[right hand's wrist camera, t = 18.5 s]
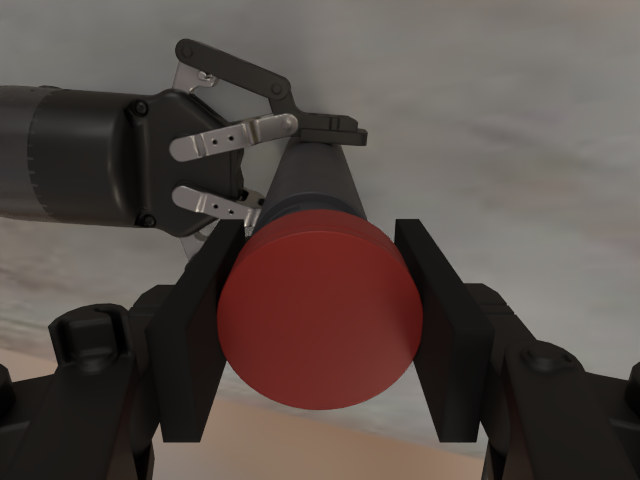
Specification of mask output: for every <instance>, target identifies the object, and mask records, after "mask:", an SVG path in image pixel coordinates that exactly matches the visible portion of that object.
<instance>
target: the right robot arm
mask: <svg viewBox="0 0 640 480" xmlns="http://www.w3.org/2000/svg"><path fill="white" fill-rule="evenodd" d="M245 244H246V243H245V228H244V219H221V220H220V221H219V223H218V224H217V225H216V227H215V228H214V230H213V231H212V233H211V234H210V235H209V237H208V238H207V240H206V241H205V243H204V244H203V246H202V247H201V248H200V250H199V251H198V253H197V254H196V256H195V257H194V259H193V260H192V261H191V263H190V264H189V266H188V267H187V269H186V270H185V272H184V273H183V274H182V276H181V277H180V279H179V280H178V282H177V283H176V284H175V285H156V286H155V287H153V288H151V289H150V290H148V291H146V292H145V293H143V294H142V295H141V296H140V297H139V298H138V300H137V301H136V302H135V303H134V305H133V307H131V308H130V310H129V311H128V310H127V309H125V308H124V307H123V306H121V305H116V304H111V303H109V304H94V305H89V306H83V307H80V308H77V309H74V310H72V311H69V312H67V313H65V314H63V315H61V316H60V317H58V318H56V319H55V320H54V321H53V322H52V323H51V324H50V325H49V326H48V329H49V332H50V336H51V340H52V344H53V348H54V351H55V355H56V359H57V363H58V367H57V369H56V371H55V373H54V374H51V375H47V376H43V377H37V378H32V379H27V380H23V381H17V382H12V381H11V378H10V375H9V372H8V369H7V368H6V367H4V366H3V365H2V364H0V480H152V476H153V468H154V460H155V458H154V451H153V445H152V438H153V435H154V433H155V431H156V429H157V427H158V425H159V423H160V426H161V431H162V437H163V442H200V440H201V437H202V434H203V431H204V428H205V425H206V422H207V419H208V416H209V413H210V410H211V407H212V404H213V401H214V398H215V395H216V392H217V389H218V385H219V382H220V379H221V376H222V373H223V370H224V367H225V364H226V361H227V359H226V357H225V355H224V353H223V351H222V348H221V345H220V342H219V336H218V327H217V316H216V314H217V306H218V301H219V298H220V295H221V291H222V289H223V287H224V285H225V282H226V280H227V278H228V276H229V274H230V272H231V269H232V267H233V265H234V263H235V261H236V259H237V257H238V255H239V253H240V251H241V250H242V248H243V247H244V245H245ZM394 244H395V245H396V247H397V248H398V250H399V252H400V253H401V255H402V257H403V259H404V261H405V263H406V265H407V268H408V270H409V272H410V274H411V276H412V278H413V281H414V283H415V285H416V287H417V290H418V292H419V294H420V298H421V302H422V306H423V324H422V334H421V342H420V345H419V348H418V350H417V353H416V355H415V357H414V359H413V362H414V365H415V368H416V371H417V374H418V377H419V380H420V383H421V386H422V389H423V392H424V395H425V399H426V402H427V405H428V408H429V411H430V414H431V417H432V420H433V423H434V426H435V429H436V432H437V435H438V438H439V441H440V442H476V441H477V436H478V430H479V424H480V421H481V423H482V425H483V427H484V430H485V432H486V434H487V436H488V438H489V439H488V445H487V450H486V456H485V461H484V467H483V472H482V477H481V480H640V362H638V363H637V364H636V365H634V366H633V367H632V370H631V374H630V377H629V380H623V379H618V378H612V377H607V376H602V375H597V374H592V373H588V372H585V370H584V368H583V366H582V364H581V363H580V362H579V361H578V360H577V358H576V357H575V356H574V355H572V354H571V353H569V352H568V351H566V350H565V349H563V348H561V347H558V346H556V345H554V344H551V343H548V342H544V341H539V340H536V338H535V337H534V336H533V335H532V333H531V332H530V331H529V330H528V329H527V327H526V326H525V325H524V324H523V323H522V321H521V320H520V319H519V318H518V316H517V315H514V312H513V310H512V309H511V308H510V307H509V306H507V303H506V302H505V301H504V299H503V298H502V297H501V296H500V295H499V293H498V292H496V291H494V290H493V289H491V288H489V287H488V286H486V285H484V284H483V283H463V282H462V281H461V279H460V278H459V276H458V275H457V273H456V272H455V270H454V269H453V268H452V266H451V265H450V263H449V262H448V260H447V259H446V258H445V256H444V255H443V253H442V252H441V250H440V249H439V247H438V246H437V245H436V243H435V242H434V240H433V239H432V237H431V236H430V234H429V233H428V232H427V230H426V229H425V227H424V226H423V224H422V223H421V221H420V220H419V219H396V224H395V239H394Z"/></svg>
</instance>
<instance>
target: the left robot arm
mask: <svg viewBox="0 0 640 480" xmlns="http://www.w3.org/2000/svg"><path fill="white" fill-rule="evenodd" d="M175 53H176V56H177V58H178V59H179V64H178V68H177V72H176V75H175V79H174V83H173V87H172V89H166V90H164V91H162V92H160V93H158V94H156V95H135V94H122V93H109V92H95V91H83V90H69V89H61V88H58V87H53V86H39V87H30V86H0V217H4V218H10V219H17V220H26V221H39V222H55V223H70V224H85V225H100V226H116V227H131V228H157V229H160V230H163V231H165V232H167V233H168V234H170V235H172V236H174V237H179V238H180V239H181V242H182V245H183V247H184V250H185V253H186V255H187V258H188V261H189V262H188V263H187V265H186V266H185V270H186V269H187V267H188V266H189V264H190V263H191V261H192V260H193V259H194V257H195V256H196V254H197V253H198V251H199V250H200V248H201V247H202V246H203V244H204V243H205V241H206V240H207V238H208V237H209V236H204V235H202V234H201V233H200V232H199V230H201V229H203V228H204V227H206V226H207V225H209V224H211V223H212V222H214V221H215V220H217V219H219V218H220V219H244V227H255V224H256V222H257V219H258V217H259V214H260V211H261V209H262V206H263V204H264V201H265V199H266V197H264V196H262V195H261V194H260V193H258V192H256V191H253V190H250V189H248V188H245V187H244V179H243V175H242V171H241V167H240V165H241V162H242V158H243V155H244V147H249V146H253V145H256V144H258V143H262V142H266V141H270V140H275V139H279V138H284V137H288V136H291V137H300V142H315V143H326V144H340V145H354V146H366V144H367V135H368V132H367V131H366V130H364V129H359V128H358V122H357V121H356V120H355V119H353V118H351V117H349V116H344V115H330V114H317V113H305V112H302V111H300V110H299V109H298V108H297V107H296V105H295V103H294V99H293V96H292V92H291V85H290V82H289V81H288V80H287V79H286V78H285V77H283V76H280V75H278V74H276V73H273V72H271V71H268V70H266V69H264V68H261V67H259V66H256V65H254V64H252V63H249V62H247V61H245V60H242V59H240V58H237V57H235V56H233V55H230V54H228V53H225V52H223V51H221V50H218V49H216V48H213V47H211V46H209V45H206V44H204V43H201V42H198V41H194V40H190V39H182V40H180V41H179V42H178V43H177V45H176V48H175ZM220 79H222V80H225V81H227V82H230V83H232V84H234V85H237V86H239V87H242V88H244V89H247V90H249V91H252V92H254V93H256V94H259V95H261V96H264V97H266V98H268V100H269V103H270V106H271V109H272V112H273V113H271V114H267V115H263V116H256V117H251V118H247V119H243V120H238V121H234V122H227V121H226V120H225V119H224V118H223V117H221V116H220V115H219V114H218V113H216V112H215V111H214V110H213V109H211V108H210V107H209V106H208V105H207V104H205V103H204V102H203V101H202V100H200V99H199V98H198V97H197V96H196V95H194V94H193V93H194V91H195V89H196V88H198V87H199V86H201V87H213V86H215V85H217V84H218V82H219V80H220ZM240 197H242V198H240ZM231 210H233V211H231ZM251 237H252V235H251V236H247V237H245V243H247V242H248V241H249V239H250V238H251Z"/></svg>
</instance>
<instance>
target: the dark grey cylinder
mask: <svg viewBox="0 0 640 480" xmlns="http://www.w3.org/2000/svg"><path fill="white" fill-rule="evenodd" d="M317 209H324V210H335V211H340V212H345V213H348V214H351V215H354V216H357V217H360V218H362V219H364V220H366V221H367V218H366V215H365V212H364V209H363V207H362V204H361V201H360V198H359V195H358V193H357V190H356V187H355V184H354V181H353V178H352V176H351V173H350V170H349V167H348V164H347V162H346V159H345V156H344V153H343V150H342V147H341V145H340V144H326V143H315V142H300V137H291V139H290V140H289V142H288V143H287V146H286V148H285V151H284V153H283V156H282V158H281V161H280V163H279V166H278V168H277V171H276V174H275V176H274V179H273V181H272V184H271V186H270V189H269V191H268V194H267V196H266V199H265V201H264V204H263V206H262V209H261V211H260V214H259V217H258V219H257V222H256V224H255V227H254V230H253V232H252V236H253V235H254V234H255V233H257V232H258V231H259V230H260V229H261V228H263V227H264V226H266V225H267V224H269V223H270V222H272V221H274V220H276V219H278V218H280V217H283V216H285V215H288V214H292V213H295V212H300V211H305V210H317Z"/></svg>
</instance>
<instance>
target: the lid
mask: <svg viewBox="0 0 640 480" xmlns="http://www.w3.org/2000/svg"><path fill="white" fill-rule="evenodd" d="M216 316H217V327H218V336H219V342H220V345H221V348H222V351H223V353H224V355H225V357H226V359H227V361H228V362H229V364H230V365H231V367H232V368H233V370H234V371H235V372H236V373H237V375H238V376H239V377H240V378H241V379H242V380H243V381H244V382H245V383H247V384H248V385H249V386H250V387H251V388H253V389H254V390H256V391H257V392H258V393H260V394H262V395H264V396H265V397H267V398H269V399H271V400H274V401H276V402H279V403H281V404H284V405H288V406H291V407H296V408H302V409H310V410H331V409H338V408H344V407H348V406H352V405H356V404H358V403H361V402H364V401H366V400H368V399H370V398H372V397H374V396H376V395H378V394H380V393H381V392H383V391H384V390H386V389H387V388H389V387H390V386H391V385H392V384H393V383H395V382H396V381H397V380H398V379H399V378H400V377H401V375H402V374H403V373H404V372H405V371H406V369H407V368H408V367H409V365H410V364H411V362H412V361H413V359H414V357H415V355H416V353H417V350H418V348H419V345H420V342H421V334H422V324H423V306H422V302H421V298H420V294H419V292H418V290H417V287H416V285H415V283H414V281H413V278H412V276H411V274H410V272H409V270H408V268H407V265H406V263H405V261H404V259H403V257H402V255H401V253H400V252H399V250H398V248H397V247H396V245H395V244H394V243H393V242H392V241H391V240H390V238H389V237H388V236H387V235H386V234H384V233H383V232H382V231H381V230H380V229H379V228H377V227H376V226H374V225H373V224H371V223H370V222H368V221H366V220H364V219H362V218H360V217H357V216H354V215H351V214H348V213H345V212H340V211H335V210H324V209H317V210H305V211H300V212H295V213H292V214H288V215H285V216H283V217H280V218H278V219H276V220H274V221H272V222H270V223H269V224H267V225H266V226H264V227H263V228H261V229H260V230H259V231H258V232H257V233H255V234H254V235H253V236H252V237H251V238H250V239H249V241H248V242H247V243H246V244H245V245H244V247H243V248H242V250H241V251H240V253H239V255H238V257H237V259H236V261H235V263H234V265H233V267H232V269H231V272H230V274H229V276H228V278H227V280H226V282H225V285H224V287H223V289H222V291H221V295H220V298H219V301H218V306H217V314H216Z"/></svg>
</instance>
